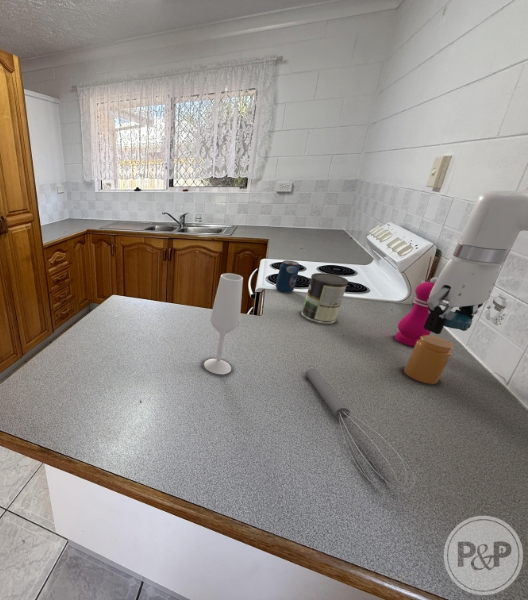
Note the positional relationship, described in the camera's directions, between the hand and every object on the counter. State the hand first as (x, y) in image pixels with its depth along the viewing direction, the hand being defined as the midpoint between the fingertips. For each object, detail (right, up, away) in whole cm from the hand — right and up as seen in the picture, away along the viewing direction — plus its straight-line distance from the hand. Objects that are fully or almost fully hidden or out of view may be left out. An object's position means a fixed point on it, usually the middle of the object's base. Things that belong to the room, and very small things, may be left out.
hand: (444, 329), depth 72 cm
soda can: (-8, +10, +57) cm, 58 cm away
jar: (-1, -12, +5) cm, 13 cm away
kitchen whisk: (-31, -18, -10) cm, 37 cm away
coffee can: (-8, +1, +35) cm, 36 cm away
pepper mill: (+10, -6, +21) cm, 24 cm away
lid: (0, +3, -1) cm, 3 cm away
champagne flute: (-50, -10, +7) cm, 52 cm away
